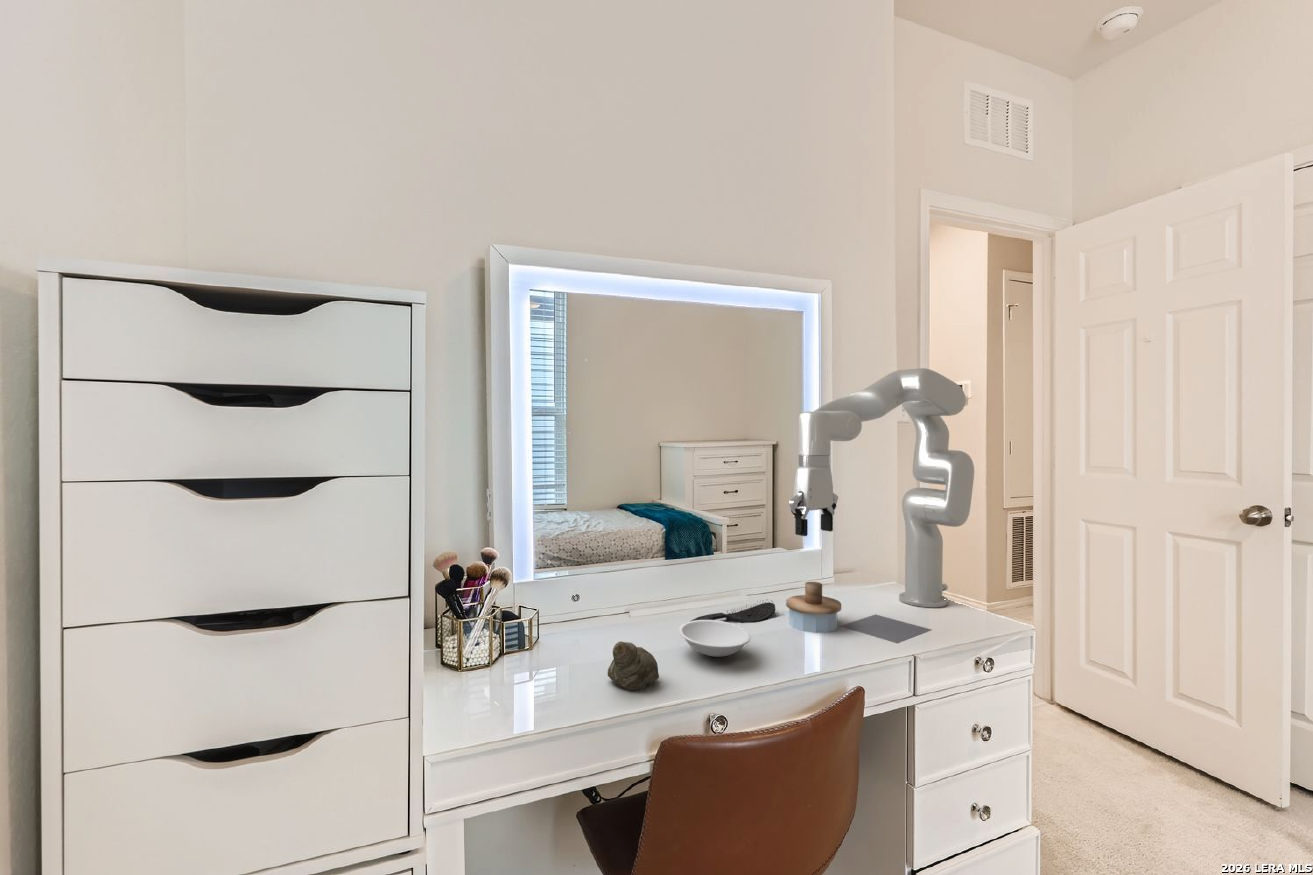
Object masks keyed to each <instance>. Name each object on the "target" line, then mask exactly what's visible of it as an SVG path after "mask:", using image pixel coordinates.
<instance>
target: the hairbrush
mask: <svg viewBox="0 0 1313 875" xmlns="http://www.w3.org/2000/svg"><path fill="white" fill-rule="evenodd" d="M767 601H768V602H767ZM758 602H759V601H758V600H757V603H758ZM757 603H754V605H753V606H752V605H749V606H748V604H746V606H745V607H746V608H744V605H743V606H741V608H740V607H738V609H736V610H735V609H732V610H731V612H730V613H729V611H726V613H723V612H717V613H709V614H705V615H700V616H697V617H695V618H693V619H692V620H690V621H695V620H722V619H727V620H729V621H732V622H735V623H740V624H742V623H744V624H749V623H760V622H765V621H768V620H770V619H771V617H773V616H774V614H776V610H777V609H776V604H775V603H774V602H773V600H770V601H769V599H768V598H765V602H764V600H760V602H759V603H758V604H757ZM743 608H744V609H743ZM736 611H737V612H736Z"/></svg>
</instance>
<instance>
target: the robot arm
mask: <svg viewBox="0 0 1313 875" xmlns="http://www.w3.org/2000/svg"><path fill="white" fill-rule="evenodd" d="M966 401H967V398H966V393H965V391H964V389H963V388H962V387H961V386H960V385H959V384H957V383H956V382H954V381H953V380H951V379H950V378H948V377H946V376H945V375H943V374H941V373H940V372H938V371H935V370H933V369H929V368H924V367H921V368H910V369H909V368H907V369H899V370H895V371H891V372H890V373H888V374H886V375H885V376H883V377H881V378H880V379H878V380H877V381H876V382H873V383H871V384H870V385H868V386H867V387H865V388H863V389H861V390H860V389H859V390H858V391H855V392H852V393H849V394H848V395H845V396H842V397H839V398H836V399H834V400H831V401H829V402H827V403H824V404H823V405H821V406H820V407H818V408H817V409H815V410H813V411H804V412H801V413H800V414H799V415H798V467H797V468H796V472H795V477H794V485H793V497H792V498H791V499H789V502H788V505H789V507H790V511H791V514H793V519H794V520H795V521H794V525H795V527H794V531H795V532H794V533H795V535H796V536H802V537H807V536H808V532H809V531H808V529H809V528H808V525H809V524H808V519H807V516H808V514H809V512H810V511H818V510H820V511H821V512H822V513H820V530H821V531H824V532H833V531H834V515H835V510H836V508H837V503H838V499H839V496H838V495H837V494H836V493H835V492H834V487H833V486H834V485H833V482H834V481H833V474H832V469H831V468H832V466H831V460H832V459H831V446H832V445H831V442H849V441H850V442H851V441H852V440H854V439H856V438H857V437H858V436H859V435H860V434H861V431H862V429H863V428H862V427H863V424H862V422H868V421H873V420H876V419H880V418H882V417H884V416H886V415H887V414H889V413H890V412H892V411H893V410H895V409H896V408H898V407H900V406H901V405H902V407H903V409H904V410H905V412H906V414H907V415H908V416H909V418H910V419H911V421H912V423H913V425H914V428H915V443H914V450H913V451H914V452H913V460H912V474H913V475H912V476H913V477H914V479H915V480H916V481H918V482H921V483H923V484H924V483H925V484H931V485H932V484H933V485H941V486H942V485H944V486H945V489H938V488H931V487H914V488H911V489H909V490H907V491H906V492H905V493H904V495H903V497H902V500H901V508H902V513H903V514H902V515H903V519H904V520H903V521H904V526H905V527H904V528H905V529H904V530H905V545H904V546H905V547H904V548H905V553H904V554H905V555H904V557H905V558H904V560H905V562H904V565H905V566H904V568H905V569H904V591H903V592H901V593H899V595H898V600H900V602H902V603H904V604H907V605H911V606H916V607H921V608H943V607H946V606H948V604H949V599H948V598H947V597H945V596H944V595H943V592H945V591H947V590H948V587H949V586H948V585H947V584H946V583H943V560H944V559H943V551H944V550H943V549H944V548H943V547H944V542H943V541H944V540H943V536H942V532H941V530H940V528H939V526H944V527H945V526H946V527H952V528H956V527H961V526H963V525H964V524H965V523H966V522H967V520H968V519H969V515H970V512H971V511H970V510H971V506H972V505H971V504H972V496H973V490H974V480H975V466H974V462H973V459H972V457H971V456H970V455H969V454H968V453H966V452H965V451H962V450H955V449H953V450H951V449H949V445H950V444H949V443H950V441H949V440H950V430H949V428H948V425H947V424H946V421H945V420H944V419H943V418H942V417H951V416H956V415H958V414H960V413H961V412H962V411H963V410H964V408H965V407H966ZM938 525H939V526H938ZM944 599H946V600H944Z"/></svg>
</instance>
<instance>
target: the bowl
mask: <svg viewBox="0 0 1313 875" xmlns="http://www.w3.org/2000/svg"><path fill="white" fill-rule="evenodd" d="M788 609H789V608H788ZM788 613H789V614H788V615H789V616H788V621H789V622H788V624H789V625H790V627H792V629H795V630H799V631H802V632H807V633H814V634H815V633H816V634H820V633H821V634H822V633H830V632H833V631H836V630H837V628H838V612H837V613H833V614H822V615H820V614H807V613H801V612H797V611H794V610H791V609H789V612H788Z"/></svg>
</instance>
